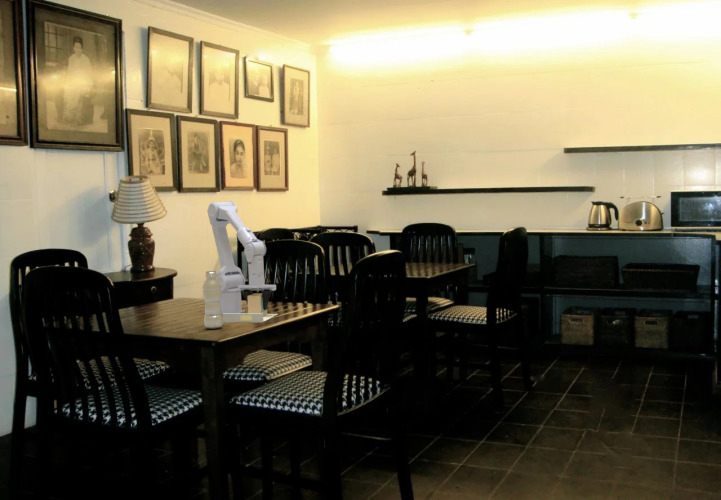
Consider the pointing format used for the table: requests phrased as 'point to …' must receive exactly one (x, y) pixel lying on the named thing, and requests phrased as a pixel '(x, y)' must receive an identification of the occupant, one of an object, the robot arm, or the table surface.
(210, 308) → the plastic bottle
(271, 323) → the table surface
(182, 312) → the table surface
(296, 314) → the table surface
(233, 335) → the table surface
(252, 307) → the kraft carton
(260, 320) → the large cream panel
